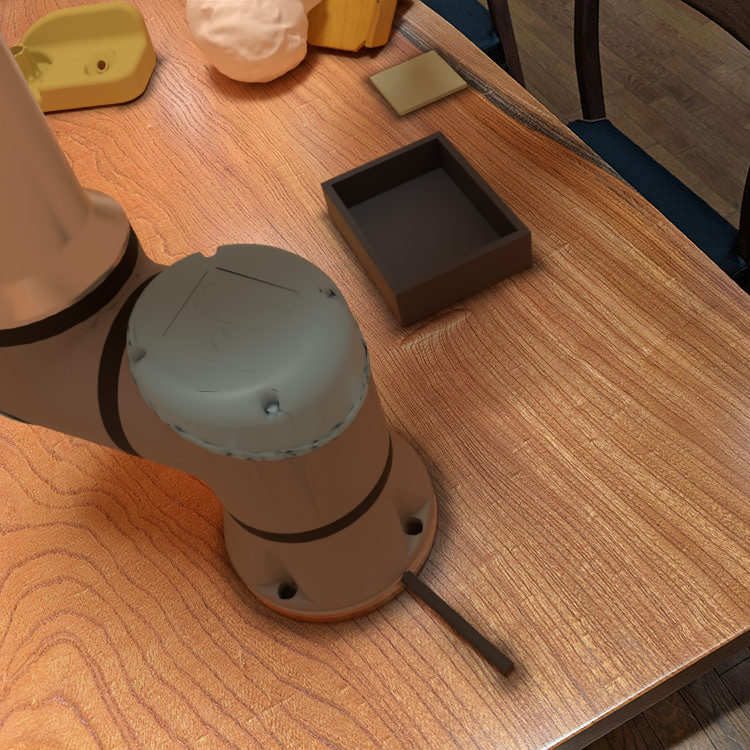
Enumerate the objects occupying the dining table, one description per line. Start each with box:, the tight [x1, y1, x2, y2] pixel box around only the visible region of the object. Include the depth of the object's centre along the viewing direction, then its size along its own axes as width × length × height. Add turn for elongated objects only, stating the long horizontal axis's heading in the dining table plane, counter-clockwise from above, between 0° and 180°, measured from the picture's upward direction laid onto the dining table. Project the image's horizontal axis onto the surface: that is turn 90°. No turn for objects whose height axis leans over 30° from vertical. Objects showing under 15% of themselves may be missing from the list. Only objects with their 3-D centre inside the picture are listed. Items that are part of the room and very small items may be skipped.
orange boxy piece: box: [306, 0, 398, 53], centre depth 98 cm, size 10×10×9 cm
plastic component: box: [9, 0, 157, 113], centre depth 99 cm, size 20×7×10 cm
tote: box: [320, 130, 533, 328], centre depth 74 cm, size 17×13×4 cm
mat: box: [369, 49, 468, 117], centre depth 90 cm, size 8×8×1 cm
